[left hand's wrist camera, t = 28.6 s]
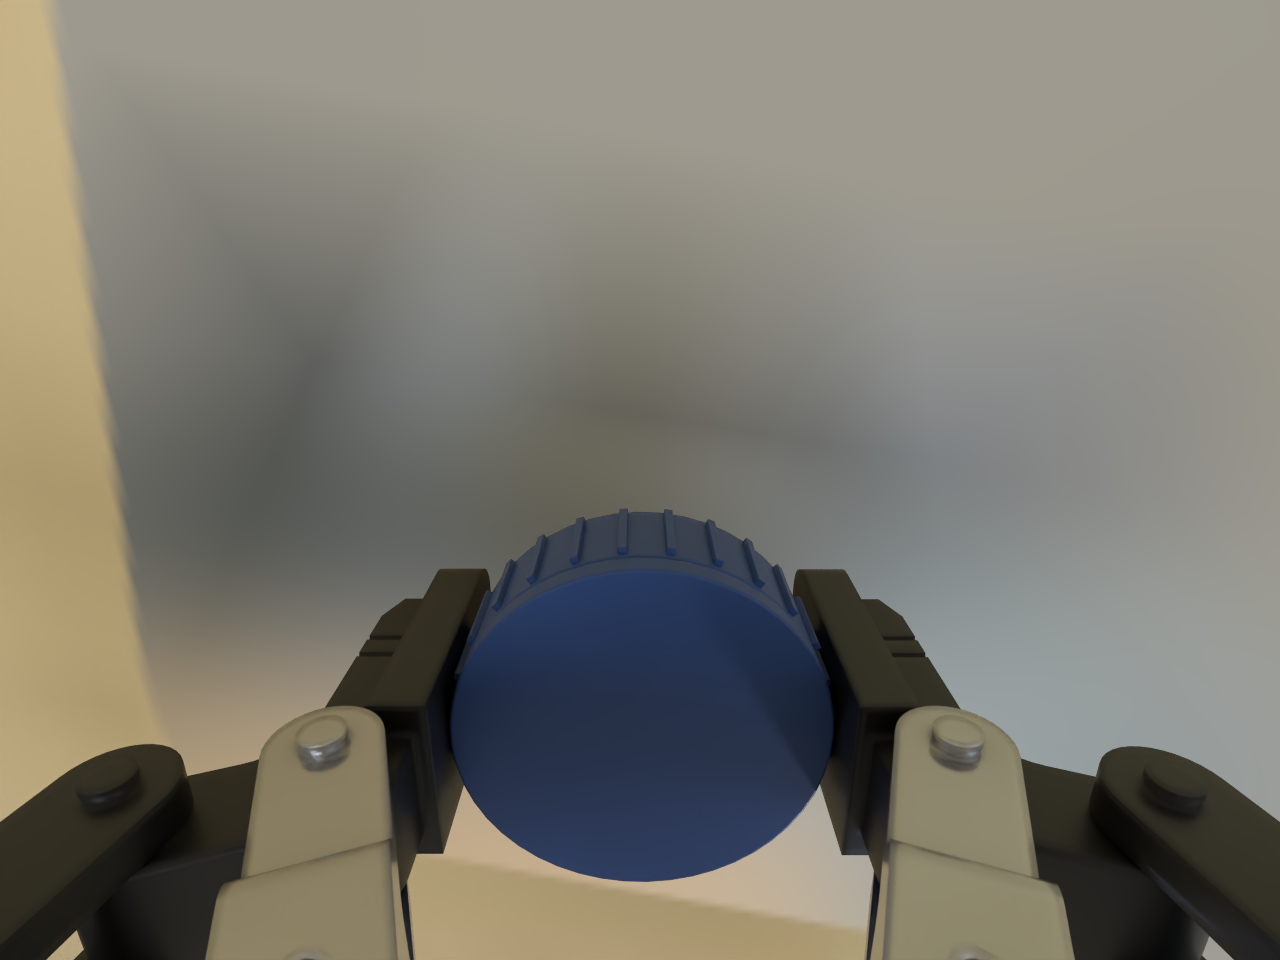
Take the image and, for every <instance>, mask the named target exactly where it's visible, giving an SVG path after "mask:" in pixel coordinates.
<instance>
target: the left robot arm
mask: <svg viewBox="0 0 1280 960" xmlns="http://www.w3.org/2000/svg"><path fill="white" fill-rule="evenodd" d="M487 590H489V591H491V590H490V580H489V575H488V572H487V570H486V569H440V570H439V571H438V572H437V574H436V576H435V578H434V580H433V581H432V583H431V585H430V587H429V589H428V590H427V592H426V594H425V596H424V598H423V599H405V600H403V601H402V602H400V603H399V604H398V605H396V606H395V607H394V608H392V609H391V610H389V611H388V612H387V613H385V614H384V615H383V616H382V617H381V618H380V620H379V622H378V623H377V625H376V626H375V628H374V630H373V631H372V633H371V634H370V639H369V640H367V641H366V643H365V644H364V646H363V647H362V649H361V651H360V654H359V656H357V657H356V659H355V660H354V662H353V664H352V665H351V667H350V668H349V670H348V671H347V673H346V675H345V676H344V678H343V680H342V681H341V683H340V684H339V686H338V688H337V689H336V691H335V693H334V694H333V696H332V697H331V699H330V701H329V702H328V704H327V705H326V707H325V708H323V709H319V710H315V711H312V712H309V713H307V714H304V715H302V716H300V717H297V718H295V719H294V720H292V721H290V722H288V723H287V724H285V725H284V726H282V727H281V728H280V729H278V730H277V731H276V732H275V733H274V734H273V735H272V736H271V737H270V738H269V739H268V741H267V742H266V743H265V745H264V747H263V748H262V750H261V754H260V757H259V760H256V761H252V762H248V763H245V764H241V765H236V766H232V767H227V768H223V769H218V770H214V771H209V772H204V773H200V774H195V775H191V776H187V773H186V770H185V766H184V762H183V759H182V757H181V755H180V754H179V753H178V752H177V751H176V750H174V749H172V748H170V747H167V746H163V745H156V744H142V745H134V746H129V747H124V748H119V749H116V750H113V751H110V752H107V753H104V754H101V755H99V756H96V757H94V758H92V759H90V760H88V761H86V762H83V763H82V764H80V765H78V766H76V767H75V768H73V769H71V770H70V771H68V772H67V773H65V774H64V775H62V776H61V777H59V778H58V779H57V780H56V781H54V782H53V783H52V784H50V785H49V786H48V787H46V788H45V789H44V790H42V791H41V792H40V793H38V794H37V795H36V796H34V797H33V798H32V799H30V800H29V801H28V802H26V803H25V804H24V805H22V806H21V807H20V808H18V809H17V810H16V811H14V812H13V813H12V814H10V815H9V816H8V817H6V818H5V819H4V820H2V821H1V822H0V960H46V959H47V958H48V957H49V956H50V955H51V954H52V953H53V952H54V951H56V950H57V949H58V948H59V947H60V946H61V945H62V944H63V943H64V942H65V941H66V940H67V939H68V938H69V937H70V936H71V935H72V934H73V933H74V932H75V931H76V930H77V932H78V935H79V937H80V940H81V943H82V945H83V948H84V950H83V951H82V952H81V953H80V954H79V955H78V956H77V957H76V958H75V959H74V960H416V959H415V948H414V937H413V926H412V915H411V905H410V895H409V888H408V881H407V880H408V878H409V875H410V872H411V869H412V866H413V863H414V860H415V857H416V854H443V852H444V849H445V846H446V842H447V839H448V836H449V832H450V829H451V826H452V822H453V819H454V816H455V812H456V809H457V806H458V803H459V799H460V796H461V793H462V789H463V786H464V784H463V781H462V779H461V776H460V774H459V771H458V769H457V766H456V763H455V759H454V755H453V750H452V746H451V736H450V714H451V704H452V699H453V695H454V692H455V688H456V684H457V681H458V680H454V679H453V678H454V674H455V671H456V668H457V666H458V663H459V660H460V658H461V655H462V653H463V650H464V647H465V645H466V642H467V639H468V636H469V634H470V631H471V628H472V626H473V623H474V621H475V618H476V615H477V613H478V610H479V608H480V605H481V602H482V600H483V597H484V595H485V593H486V591H487ZM797 596H800V598H801V600H802V603H803V605H804V608H805V610H806V612H807V615H808V617H809V620H810V622H811V625H812V627H813V630H814V632H815V635H816V637H817V639H818V642H819V644H820V647H821V648H820V649H819V652H820V654H821V657H822V659H823V662H824V664H825V667H826V669H827V672H828V674H829V677H830V679H831V686H829V689H830V692H831V697H832V704H833V710H834V738H833V744H832V750H831V756H830V759H829V762H828V765H827V768H826V771H825V774H824V776H823V778H822V780H821V782H820V786H821V789H822V792H823V795H824V799H825V802H826V805H827V808H828V812H829V815H830V818H831V821H832V825H833V828H834V831H835V834H836V837H837V841H838V844H839V847H840V851H841V854H842V855H869V858H870V860H871V863H872V866H873V869H874V875H873V881H872V888H871V895H870V905H869V915H868V926H867V937H866V948H865V959H864V960H1206V959H1205V958H1204V957H1203V956H1202V954H1203V951H1204V948H1205V946H1206V943H1207V941H1208V938H1209V936H1210V937H1211V938H1212V939H1213V940H1214V941H1215V942H1216V943H1217V944H1218V945H1219V946H1220V947H1221V948H1222V949H1224V950H1225V951H1226V952H1227V953H1228V954H1229V955H1230V956H1231V957H1232V958H1233V959H1234V960H1280V822H1279V821H1278V820H1276V819H1275V818H1274V817H1272V816H1271V815H1270V814H1268V813H1267V812H1266V811H1264V810H1263V809H1262V808H1260V807H1259V806H1258V805H1256V804H1255V803H1254V802H1252V801H1251V800H1250V799H1248V798H1247V797H1246V796H1244V795H1243V794H1242V793H1240V792H1239V791H1238V790H1236V789H1235V788H1234V787H1233V786H1231V785H1230V784H1229V783H1227V782H1226V781H1225V780H1223V779H1222V778H1220V777H1219V776H1217V775H1216V774H1214V773H1213V772H1211V771H1210V770H1208V769H1206V768H1204V767H1203V766H1201V765H1199V764H1197V763H1195V762H1193V761H1191V760H1189V759H1186V758H1183V757H1181V756H1178V755H1176V754H1173V753H1169V752H1166V751H1162V750H1158V749H1153V748H1147V747H1135V746H1128V747H1120V748H1117V749H1113V750H1111V751H1109V752H1107V753H1106V754H1105V755H1104V756H1103V757H1102V759H1101V761H1100V764H1099V767H1098V771H1097V774H1096V777H1094V776H1089V775H1084V774H1080V773H1076V772H1071V771H1067V770H1062V769H1057V768H1053V767H1048V766H1044V765H1040V764H1036V763H1032V762H1030V761H1027V760H1024V759H1021V757H1020V754H1019V750H1018V748H1017V747H1016V745H1015V743H1014V742H1013V741H1012V739H1011V738H1010V737H1009V736H1008V735H1007V734H1006V733H1005V732H1004V731H1003V730H1002V729H1000V728H999V727H998V726H996V725H995V724H993V723H992V722H990V721H988V720H986V719H985V718H983V717H980V716H978V715H976V714H974V713H971V712H968V711H965V710H961V709H960V708H959V706H958V704H957V703H956V701H955V700H954V698H953V696H952V695H951V693H950V692H949V690H948V688H947V687H946V685H945V684H944V682H943V680H942V679H941V677H940V676H939V674H938V673H937V671H936V669H935V668H934V666H933V665H932V663H931V661H930V660H929V658H928V657H925V652H924V650H923V649H922V647H921V646H920V644H919V642H918V641H917V640H915V636H914V635H913V633H912V631H911V630H910V628H909V627H908V625H907V623H906V622H905V620H904V619H903V617H902V616H901V615H899V614H898V613H897V612H895V611H894V610H892V609H891V608H890V607H888V606H887V605H885V604H884V603H883V602H881V601H880V600H878V599H861V598H860V596H859V594H858V592H857V591H856V589H855V587H854V585H853V583H852V582H851V580H850V578H849V576H848V574H847V573H846V571H845V570H842V569H840V570H839V569H830V570H829V569H819V570H818V569H813V570H812V569H799V570H797V572H796V575H795V579H794V588H793V597H794V598H795V597H797Z"/></svg>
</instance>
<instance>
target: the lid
mask: <svg viewBox="0 0 1280 960" xmlns="http://www.w3.org/2000/svg"><path fill="white" fill-rule="evenodd" d="M820 648H821V647H820V644H819V642H818V639H817V637H816V635H815V632H814V630H813V627H812V625H811V622H810V620H809V617H808V615H807V612H806V610H805V608H804V605H803V603H802V600H801V598H800V596H797V597H795V598H794V597H793V595H792V593H791V591H790V590H789V587H788V584H787V582H786V579H785V577H784V574H783V572H782V569H781V568H780V567H779V566H778V565H775V566H774V567H772V566H771V565H770V564H769V563H768V562H767V561H766V559H765V558H764V557H763V556H761V555H760V554H759V553H758V552H756V551H755V550H754V547H753V544H752V542H751V541H750V540H749V539H747V538H746V539H745V540H744V541H741V540H740V539H738V538H736V537H735V536H733V535H731V534H729V533H728V532H726V531H724V530H721V529H719V528H717V527H716V525H715V522H714V521H711V520H707V522H706V523H705V522H701V521H697V520H694V519H690V518H687V517H683V516H677V515H673V513H672V510H666V509H665V510H664V513H651V512H632V513H628V509H620V511H619V514H612V515H607V516H602V517H597V518H592V519H589V520H586V521H585V519H584V517H581V518H578V519H576V524H574V525H572V526H569V527H567V528H565V529H563V530H561V531H558V532H556V533H554V534H552V535H550V536H548V537H546V536H545V535H544V534H543V535H542V536H540V537H538V539H537V543H536V545H535V546H533V547H532V548H530V549H529V550H528V551H527V552H526V553H525V554H524V555H522V556H521V557H520V558H519V559H518V560H517V561H516V562H514V561H513V560H510V561H509V562H508V563H507V564H506V567H505V570H504V572H503V575H502V578H501V579H500V581H499V582H498V584H497V586H496V587H495V589H494V590H493V592H491V591H489V590H487V591H486V593H485V595H484V597H483V600H482V602H481V605H480V608H479V610H478V613H477V615H476V618H475V621H474V623H473V626H472V628H471V631H470V634H469V636H468V639H467V642H466V645H465V647H464V650H463V653H462V655H461V658H460V660H459V663H458V666H457V668H456V671H455V674H454V678H453V679H454V680H458V681H457V684H456V688H455V692H454V695H453V699H452V704H451V714H450V736H451V746H452V750H453V755H454V759H455V763H456V766H457V769H458V771H459V774H460V776H461V779H462V781H463V784H464V786H465V787H466V789H467V791H468V792H469V794H470V796H471V798H472V799H473V801H474V803H475V804H476V805H477V806H478V808H479V809H480V810H481V811H482V813H483V814H484V815H485V817H486V818H487V819H488V820H489V821H490V822H491V823H492V824H493V825H494V826H495V827H496V828H497V829H498V830H499V831H500V832H501V833H503V834H504V835H505V836H507V837H508V838H509V839H510V840H512V841H513V842H514V843H516V844H517V845H518V846H520V847H522V848H523V849H525V850H527V851H528V852H530V853H532V854H533V855H535V856H537V857H539V858H541V859H543V860H545V861H547V862H550V863H552V864H554V865H556V866H558V867H561V868H564V869H568V870H570V871H574V872H576V873H580V874H584V875H588V876H593V877H598V878H602V879H610V880H618V881H637V882H650V881H664V880H673V879H679V878H685V877H691V876H695V875H699V874H702V873H706V872H709V871H713V870H716V869H718V868H721V867H724V866H726V865H729V864H731V863H734V862H736V861H738V860H740V859H742V858H744V857H746V856H748V855H750V854H752V853H754V852H755V851H757V850H758V849H760V848H761V847H763V846H764V845H766V844H767V843H769V842H770V841H772V840H773V839H774V838H775V837H776V836H778V835H779V834H780V833H781V832H782V831H784V830H785V829H786V828H787V827H788V826H789V825H790V824H791V823H792V822H793V821H794V820H795V819H796V818H797V817H798V815H799V814H800V813H801V812H802V811H803V810H804V808H805V807H806V806H807V804H808V803H809V801H810V800H811V798H812V797H813V795H814V794H815V792H816V790H817V788H818V786H819V784H820V782H821V780H822V778H823V776H824V774H825V771H826V768H827V765H828V762H829V759H830V756H831V750H832V744H833V738H834V710H833V704H832V697H831V692H830V689H829V686H831V679H830V677H829V674H828V672H827V669H826V667H825V664H824V662H823V659H822V657H821V654H820V652H819V649H820Z"/></svg>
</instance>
